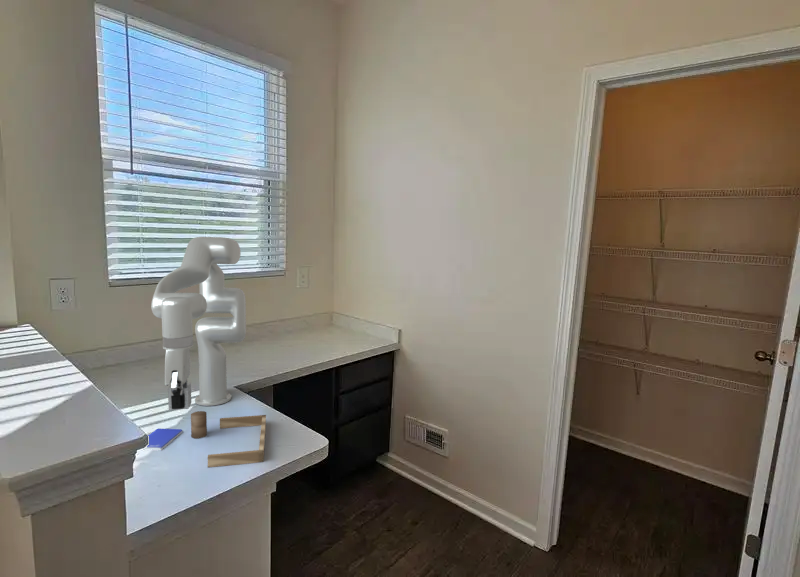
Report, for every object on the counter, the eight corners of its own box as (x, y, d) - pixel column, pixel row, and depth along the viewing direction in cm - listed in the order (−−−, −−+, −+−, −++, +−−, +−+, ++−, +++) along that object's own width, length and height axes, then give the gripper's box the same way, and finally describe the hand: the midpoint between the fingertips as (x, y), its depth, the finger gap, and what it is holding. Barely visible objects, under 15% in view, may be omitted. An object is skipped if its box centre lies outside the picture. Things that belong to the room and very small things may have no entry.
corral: (220, 427, 145) (220, 418, 144) (266, 423, 149) (266, 414, 148) (207, 467, 119) (207, 456, 119) (263, 461, 123) (263, 451, 123)
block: (172, 404, 128) (171, 383, 127) (191, 402, 129) (190, 382, 128) (168, 410, 123) (167, 389, 122) (188, 408, 125) (187, 388, 124)
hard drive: (161, 447, 128) (182, 429, 140) (132, 446, 128) (156, 428, 141) (161, 452, 128) (182, 433, 141) (132, 451, 128) (156, 433, 141)
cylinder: (192, 433, 140) (192, 411, 139) (207, 431, 141) (207, 410, 140) (190, 439, 136) (189, 417, 135) (205, 438, 137) (205, 416, 136)
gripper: (170, 335, 131) (172, 394, 133) (154, 350, 115) (157, 418, 117) (198, 334, 133) (199, 393, 135) (186, 349, 117) (188, 416, 119)
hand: (180, 404), depth 126 cm, fingers closed on block, 4 cm apart
